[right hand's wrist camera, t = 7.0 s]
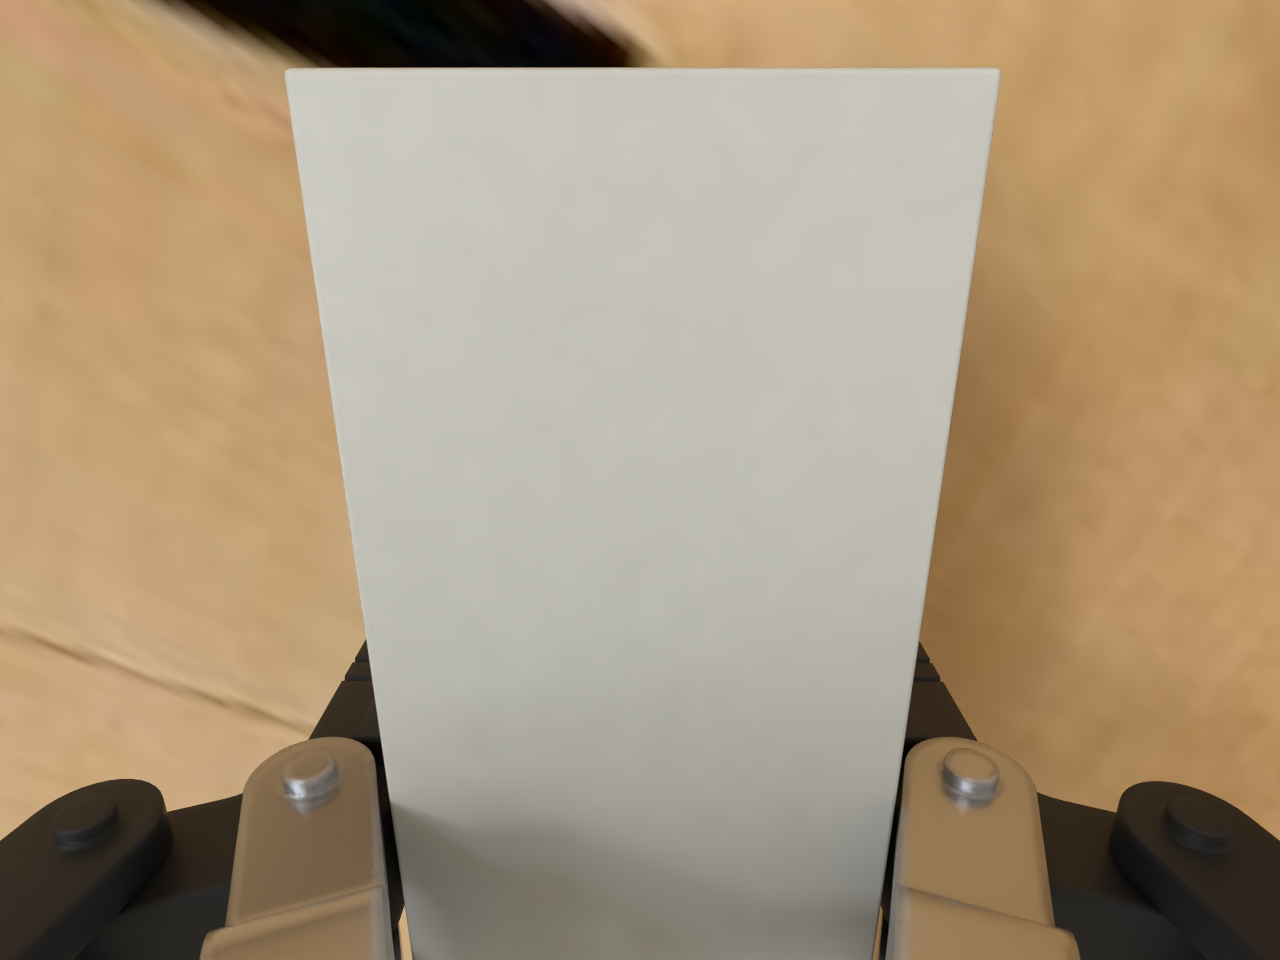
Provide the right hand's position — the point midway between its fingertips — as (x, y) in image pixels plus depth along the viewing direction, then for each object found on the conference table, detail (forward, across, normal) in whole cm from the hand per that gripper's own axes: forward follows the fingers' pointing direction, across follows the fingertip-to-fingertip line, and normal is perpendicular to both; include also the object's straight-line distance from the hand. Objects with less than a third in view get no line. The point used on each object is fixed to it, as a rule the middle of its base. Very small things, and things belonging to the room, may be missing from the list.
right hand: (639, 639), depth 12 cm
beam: (+2, 0, +25) cm, 25 cm away
